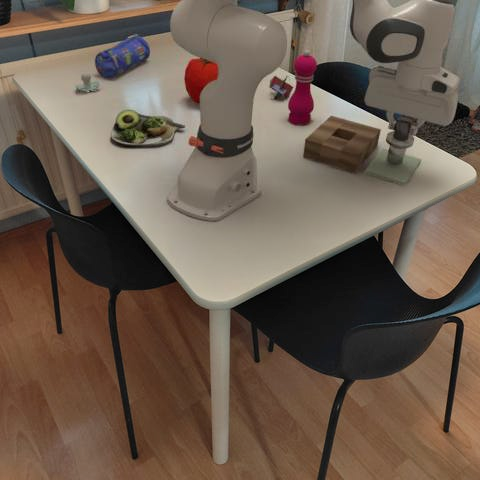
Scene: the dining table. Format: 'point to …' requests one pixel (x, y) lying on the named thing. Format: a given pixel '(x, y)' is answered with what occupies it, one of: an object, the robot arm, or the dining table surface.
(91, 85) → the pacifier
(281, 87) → the geometric puzzle
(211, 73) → the tomato
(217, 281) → the dining table surface
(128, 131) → the salad plate
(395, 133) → the flanged metal shaft
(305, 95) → the pepper mill
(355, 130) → the block
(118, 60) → the pencil case
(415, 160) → the mat
